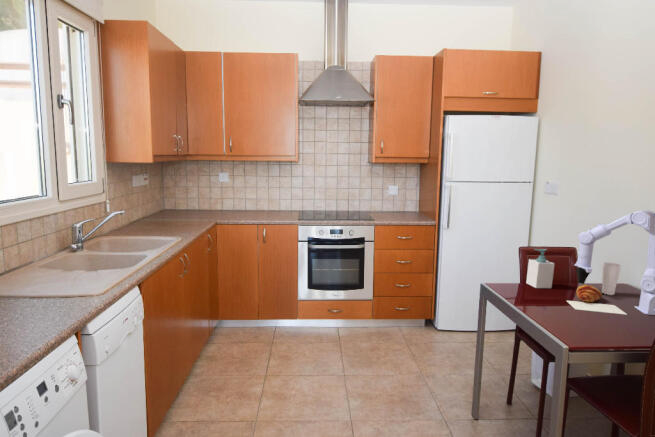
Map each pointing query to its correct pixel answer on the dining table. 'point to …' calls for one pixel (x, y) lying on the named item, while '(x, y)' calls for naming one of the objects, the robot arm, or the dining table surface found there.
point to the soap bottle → (540, 271)
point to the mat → (596, 307)
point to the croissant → (588, 293)
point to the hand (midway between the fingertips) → (581, 283)
